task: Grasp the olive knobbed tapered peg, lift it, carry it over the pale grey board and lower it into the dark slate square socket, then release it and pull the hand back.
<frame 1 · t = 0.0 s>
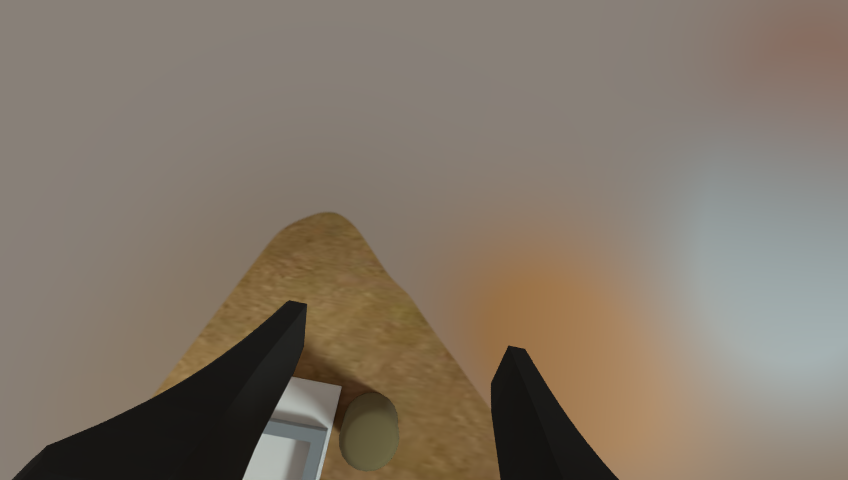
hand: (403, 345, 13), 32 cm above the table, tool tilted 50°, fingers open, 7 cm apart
socket board: (266, 455, 39), on the table
olive knobbed tapered peg: (370, 421, 41), on the table
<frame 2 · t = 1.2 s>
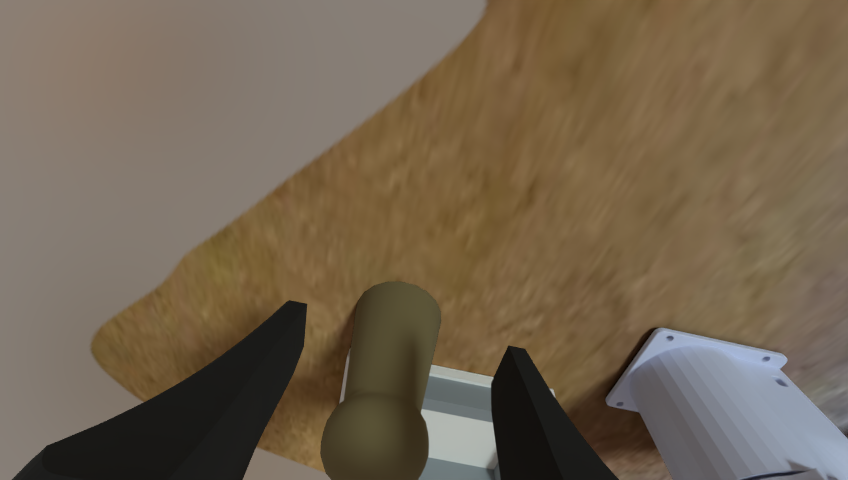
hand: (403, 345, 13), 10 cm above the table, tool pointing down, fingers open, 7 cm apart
socket board: (434, 416, 31), on the table
olive knobbed tapered peg: (398, 314, 26), on the table
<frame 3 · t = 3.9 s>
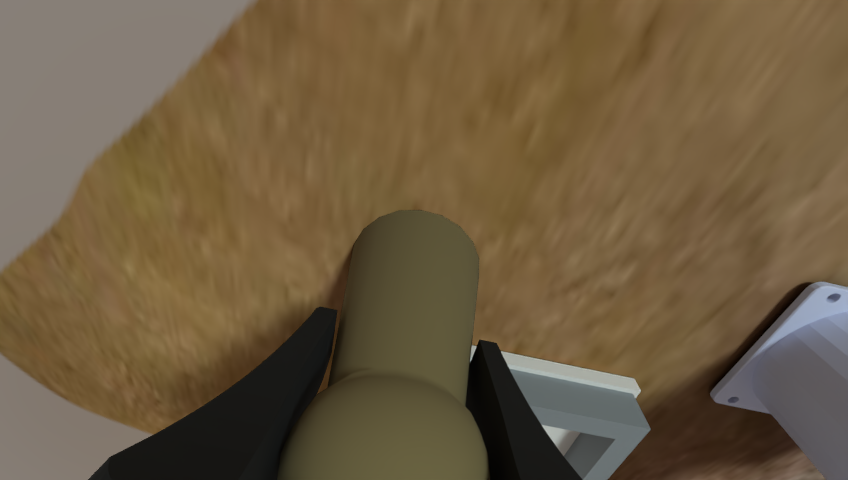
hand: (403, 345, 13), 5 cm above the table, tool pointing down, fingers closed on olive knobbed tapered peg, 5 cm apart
socket board: (461, 418, 23), on the table
olive knobbed tapered peg: (415, 265, 18), on the table, touching gripper
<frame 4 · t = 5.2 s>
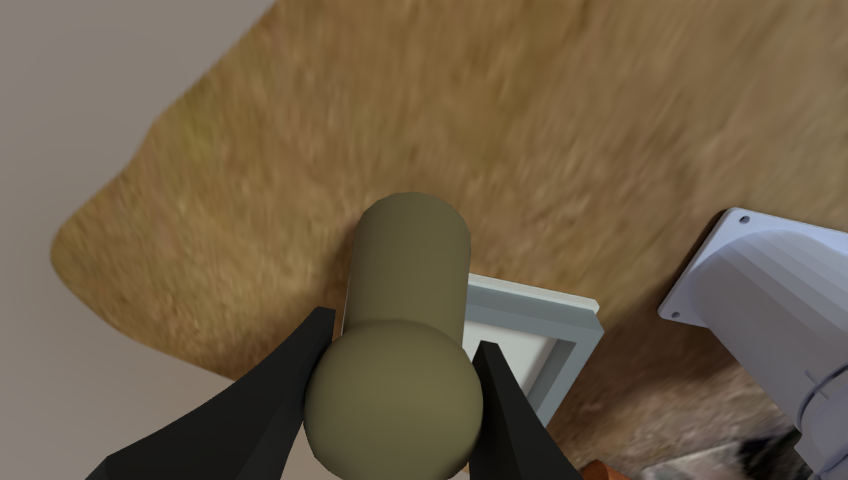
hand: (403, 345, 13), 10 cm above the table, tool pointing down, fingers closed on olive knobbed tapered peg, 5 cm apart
socket board: (454, 341, 27), on the table
olive knobbed tapered peg: (412, 244, 19), point 3 cm above the table, touching gripper
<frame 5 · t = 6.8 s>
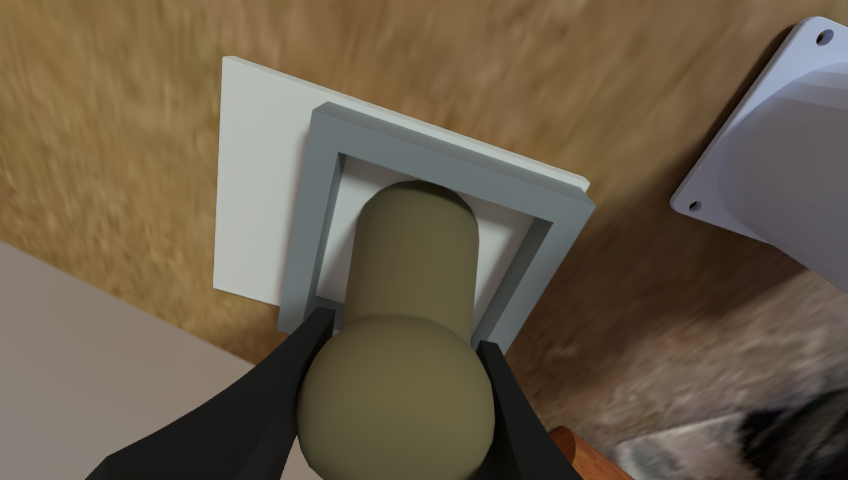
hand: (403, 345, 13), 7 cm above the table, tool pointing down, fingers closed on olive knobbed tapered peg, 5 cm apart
socket board: (382, 233, 19), on the table
kendama: (649, 475, 29), on the table
olive knobbed tapered peg: (417, 236, 18), point 1 cm above the table, touching gripper, socket board
when the fingers open (7 cm above the table, at t = 7.4 s): olive knobbed tapered peg stays where it is, resting on socket board.
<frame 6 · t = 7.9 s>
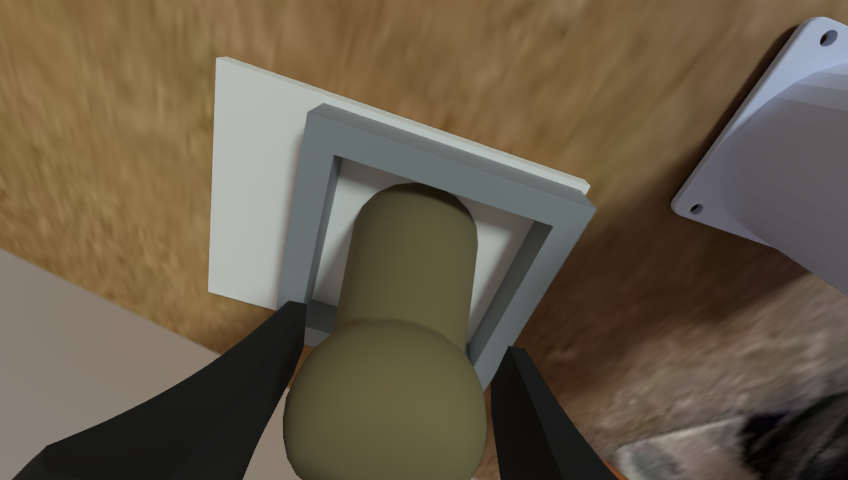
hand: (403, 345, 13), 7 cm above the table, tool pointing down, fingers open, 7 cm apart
socket board: (380, 237, 19), on the table
olive knobbed tapered peg: (415, 239, 18), point 1 cm above the table, touching socket board
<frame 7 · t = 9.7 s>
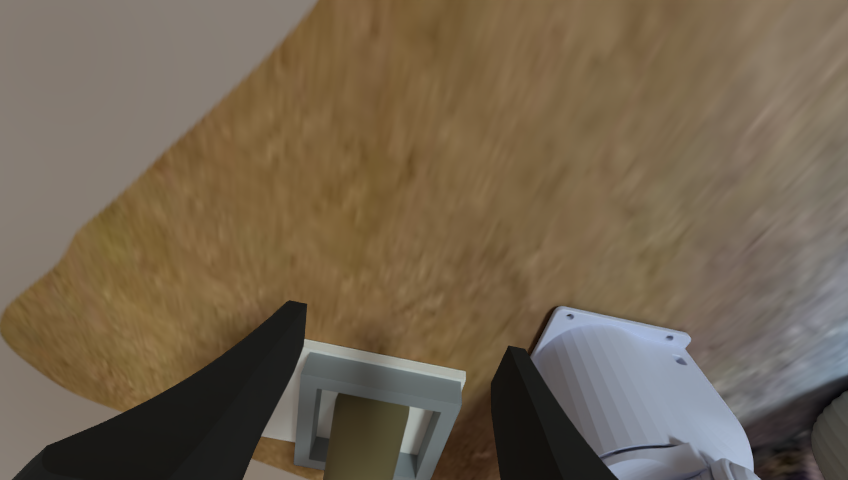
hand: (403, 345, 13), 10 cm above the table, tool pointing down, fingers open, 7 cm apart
socket board: (352, 401, 31), on the table
olive knobbed tapered peg: (372, 405, 30), point 1 cm above the table, touching socket board
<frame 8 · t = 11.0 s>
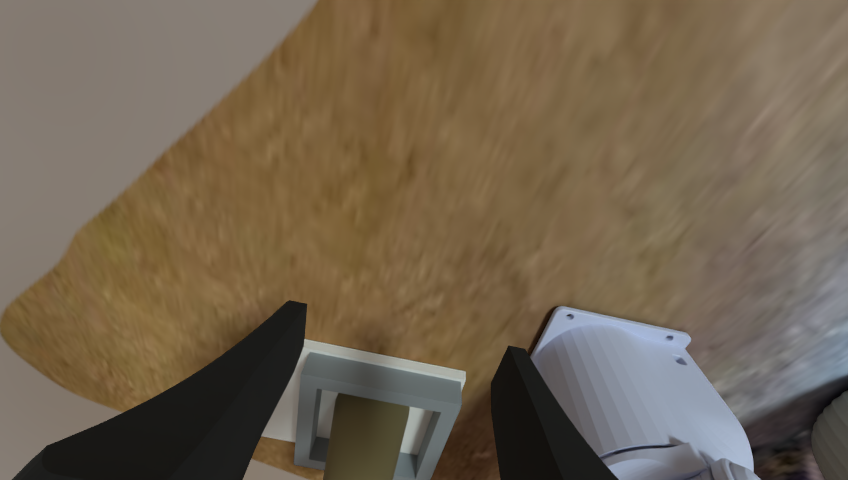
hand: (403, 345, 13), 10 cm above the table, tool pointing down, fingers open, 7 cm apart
socket board: (353, 401, 31), on the table
olive knobbed tapered peg: (372, 405, 30), point 1 cm above the table, touching socket board
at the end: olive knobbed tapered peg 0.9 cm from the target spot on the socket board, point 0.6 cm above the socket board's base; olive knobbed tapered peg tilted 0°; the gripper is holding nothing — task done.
